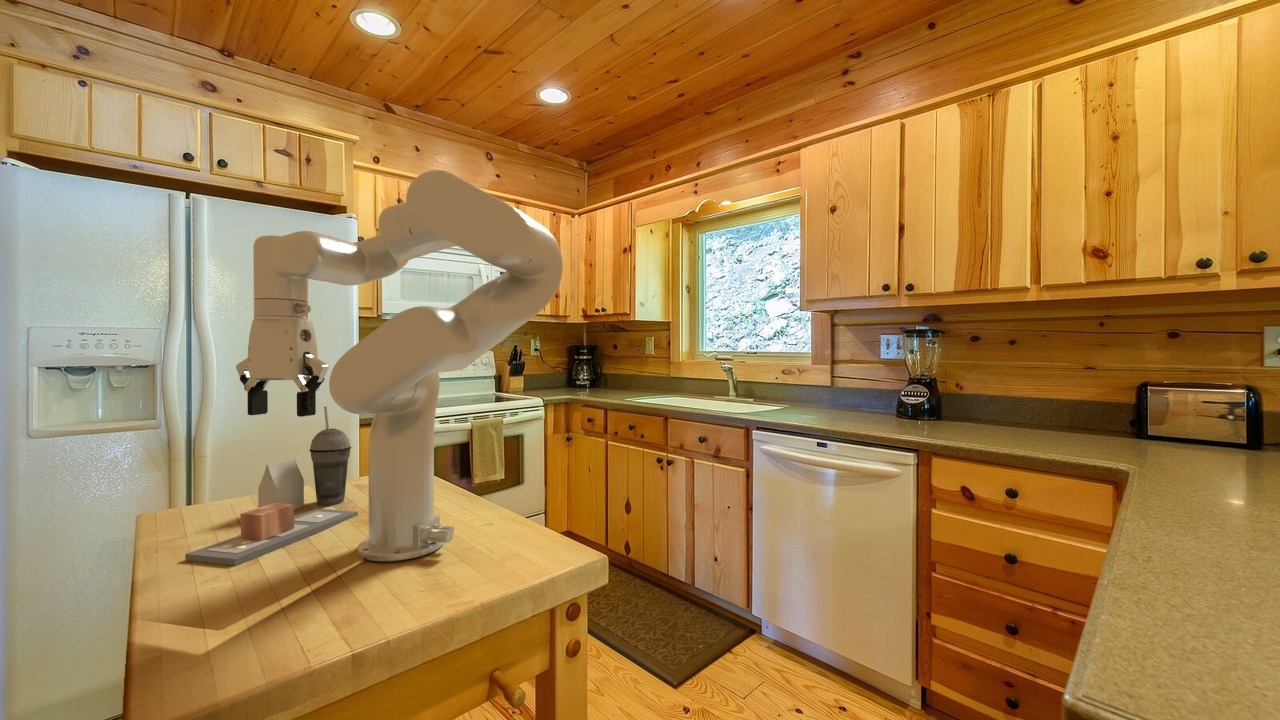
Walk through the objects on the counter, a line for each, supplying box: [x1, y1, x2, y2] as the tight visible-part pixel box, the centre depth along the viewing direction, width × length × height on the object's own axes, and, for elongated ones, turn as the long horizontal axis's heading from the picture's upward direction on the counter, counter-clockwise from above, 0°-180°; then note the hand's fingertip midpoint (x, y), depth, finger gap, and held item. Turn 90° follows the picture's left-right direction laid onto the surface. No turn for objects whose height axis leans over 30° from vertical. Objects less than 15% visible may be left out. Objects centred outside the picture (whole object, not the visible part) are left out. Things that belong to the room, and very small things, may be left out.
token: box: [239, 503, 295, 541], centre depth 87 cm, size 4×4×6 cm
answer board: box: [184, 508, 359, 567], centre depth 89 cm, size 9×24×1 cm, turn 168°
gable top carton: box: [257, 458, 305, 510], centre depth 102 cm, size 4×7×10 cm, turn 173°
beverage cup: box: [309, 405, 352, 507], centre depth 107 cm, size 7×7×20 cm
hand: (281, 415), depth 89 cm, fingers open, 9 cm apart
